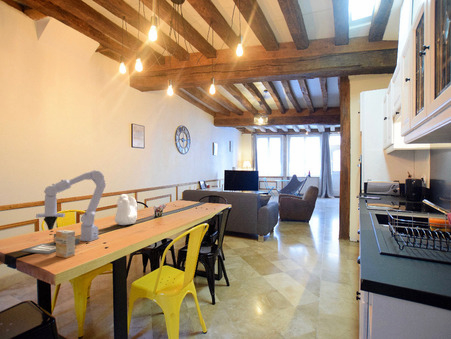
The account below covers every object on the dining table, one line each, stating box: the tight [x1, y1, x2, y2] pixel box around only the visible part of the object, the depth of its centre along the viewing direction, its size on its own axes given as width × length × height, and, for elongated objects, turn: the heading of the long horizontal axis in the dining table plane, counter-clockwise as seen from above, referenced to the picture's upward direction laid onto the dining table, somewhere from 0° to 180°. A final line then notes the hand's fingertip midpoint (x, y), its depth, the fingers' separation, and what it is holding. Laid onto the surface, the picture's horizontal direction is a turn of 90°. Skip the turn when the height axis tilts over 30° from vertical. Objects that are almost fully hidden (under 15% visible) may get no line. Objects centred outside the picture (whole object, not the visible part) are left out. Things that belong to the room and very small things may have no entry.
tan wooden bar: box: [53, 233, 80, 246], centre depth 140 cm, size 18×4×5 cm, turn 68°
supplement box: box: [55, 228, 76, 259], centre depth 125 cm, size 8×5×13 cm, turn 69°
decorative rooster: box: [114, 193, 139, 226], centre depth 197 cm, size 25×16×25 cm, turn 159°
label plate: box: [21, 243, 56, 255], centre depth 134 cm, size 18×12×1 cm, turn 78°
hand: (50, 229), depth 142 cm, fingers closed
